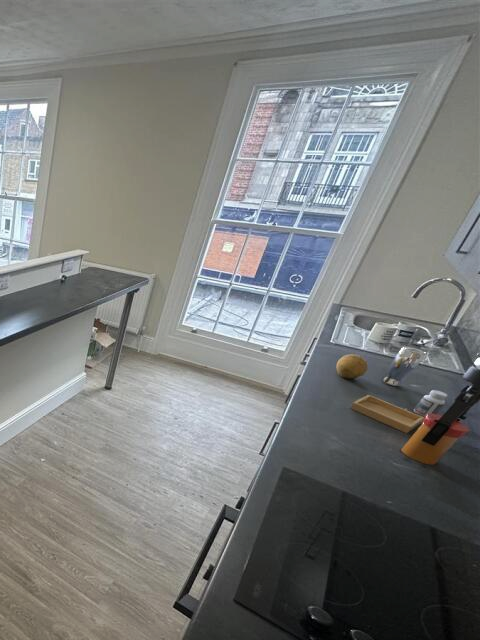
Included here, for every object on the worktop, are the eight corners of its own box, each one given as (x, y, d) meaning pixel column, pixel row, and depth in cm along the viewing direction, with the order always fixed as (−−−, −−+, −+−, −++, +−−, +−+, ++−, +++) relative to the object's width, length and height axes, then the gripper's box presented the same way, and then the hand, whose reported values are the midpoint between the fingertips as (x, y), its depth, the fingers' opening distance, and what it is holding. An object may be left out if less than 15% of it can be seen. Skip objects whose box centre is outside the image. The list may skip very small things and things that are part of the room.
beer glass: (380, 377, 166) (403, 344, 159) (402, 384, 162) (427, 351, 154) (377, 381, 162) (401, 348, 155) (400, 389, 158) (425, 355, 150)
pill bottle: (429, 413, 143) (447, 392, 138) (435, 420, 139) (453, 398, 134) (410, 408, 145) (427, 387, 141) (415, 414, 141) (432, 393, 137)
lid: (418, 423, 115) (423, 417, 114) (427, 416, 119) (432, 410, 117) (458, 440, 108) (464, 434, 107) (467, 433, 112) (473, 427, 111)
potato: (375, 356, 161) (347, 346, 165) (373, 367, 152) (344, 356, 157) (358, 375, 166) (332, 365, 171) (355, 387, 158) (328, 376, 163)
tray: (420, 423, 136) (424, 417, 135) (406, 433, 130) (411, 427, 128) (364, 400, 147) (368, 394, 146) (349, 408, 141) (353, 402, 140)
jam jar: (439, 460, 118) (468, 428, 112) (431, 467, 114) (460, 435, 108) (406, 445, 123) (432, 414, 117) (397, 451, 120) (423, 420, 114)
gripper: (482, 358, 112) (427, 423, 123) (461, 371, 102) (403, 440, 113) (523, 370, 106) (461, 437, 118) (504, 385, 96) (439, 456, 108)
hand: (433, 438), depth 116 cm, fingers closed on lid, 8 cm apart
